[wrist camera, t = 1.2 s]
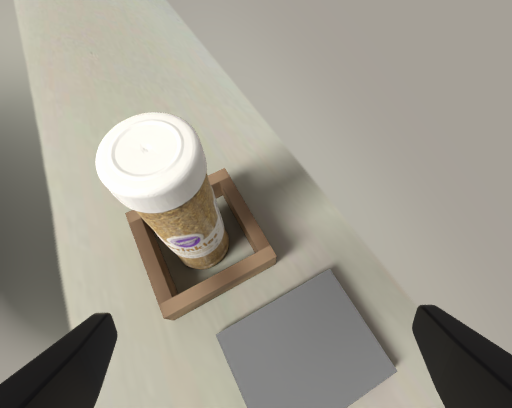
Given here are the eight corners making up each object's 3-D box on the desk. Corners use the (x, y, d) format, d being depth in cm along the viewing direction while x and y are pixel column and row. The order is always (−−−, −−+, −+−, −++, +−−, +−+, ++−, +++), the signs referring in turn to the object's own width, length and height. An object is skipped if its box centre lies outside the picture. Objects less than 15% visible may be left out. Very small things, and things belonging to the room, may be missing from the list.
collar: (174, 320, 21) (163, 318, 19) (137, 224, 25) (125, 213, 22) (275, 264, 23) (276, 256, 21) (227, 182, 26) (224, 168, 24)
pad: (270, 456, 18) (270, 461, 17) (217, 334, 21) (215, 334, 20) (392, 369, 20) (397, 370, 19) (327, 270, 23) (329, 268, 22)
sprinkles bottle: (187, 279, 23) (102, 212, 10) (170, 232, 24) (81, 128, 12) (238, 256, 23) (215, 168, 11) (218, 211, 25) (179, 94, 13)
